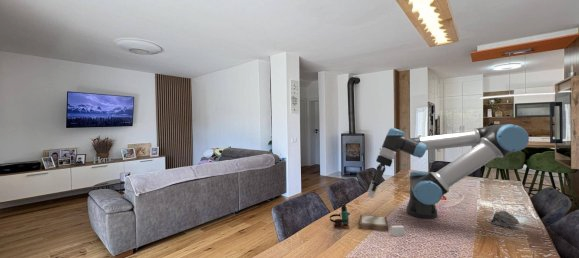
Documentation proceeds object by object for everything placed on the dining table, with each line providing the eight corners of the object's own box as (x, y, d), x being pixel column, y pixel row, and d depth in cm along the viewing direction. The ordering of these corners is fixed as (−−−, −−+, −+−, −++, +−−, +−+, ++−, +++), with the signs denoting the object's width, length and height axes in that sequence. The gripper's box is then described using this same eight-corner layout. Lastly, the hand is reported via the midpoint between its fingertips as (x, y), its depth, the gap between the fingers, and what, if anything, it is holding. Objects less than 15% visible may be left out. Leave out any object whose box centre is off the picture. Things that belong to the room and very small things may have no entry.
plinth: (386, 221, 128) (386, 216, 128) (388, 231, 117) (388, 225, 117) (360, 219, 132) (359, 214, 132) (359, 228, 120) (359, 223, 120)
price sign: (402, 234, 114) (402, 225, 114) (403, 235, 112) (403, 227, 112) (391, 234, 114) (391, 226, 113) (392, 236, 112) (392, 227, 112)
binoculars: (328, 202, 129) (348, 201, 127) (330, 223, 129) (350, 222, 127) (327, 208, 121) (348, 207, 119) (330, 230, 121) (351, 229, 119)
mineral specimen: (504, 234, 124) (497, 233, 118) (490, 219, 130) (483, 217, 124) (523, 224, 120) (517, 222, 114) (508, 208, 125) (502, 207, 119)
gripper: (377, 154, 144) (363, 188, 145) (379, 154, 120) (362, 195, 121) (390, 159, 142) (376, 193, 142) (395, 160, 118) (378, 202, 119)
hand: (370, 194), depth 132 cm, fingers open, 13 cm apart
